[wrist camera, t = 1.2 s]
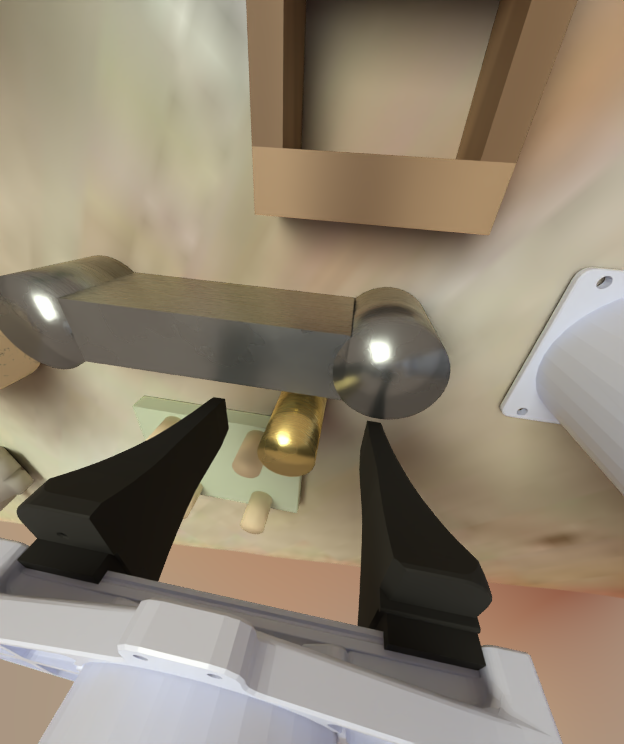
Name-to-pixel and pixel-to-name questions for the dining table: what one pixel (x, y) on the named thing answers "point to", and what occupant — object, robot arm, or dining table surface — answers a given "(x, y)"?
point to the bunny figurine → (11, 478)
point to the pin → (292, 434)
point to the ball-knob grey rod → (230, 333)
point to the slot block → (389, 172)
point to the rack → (230, 462)
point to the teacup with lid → (13, 363)
